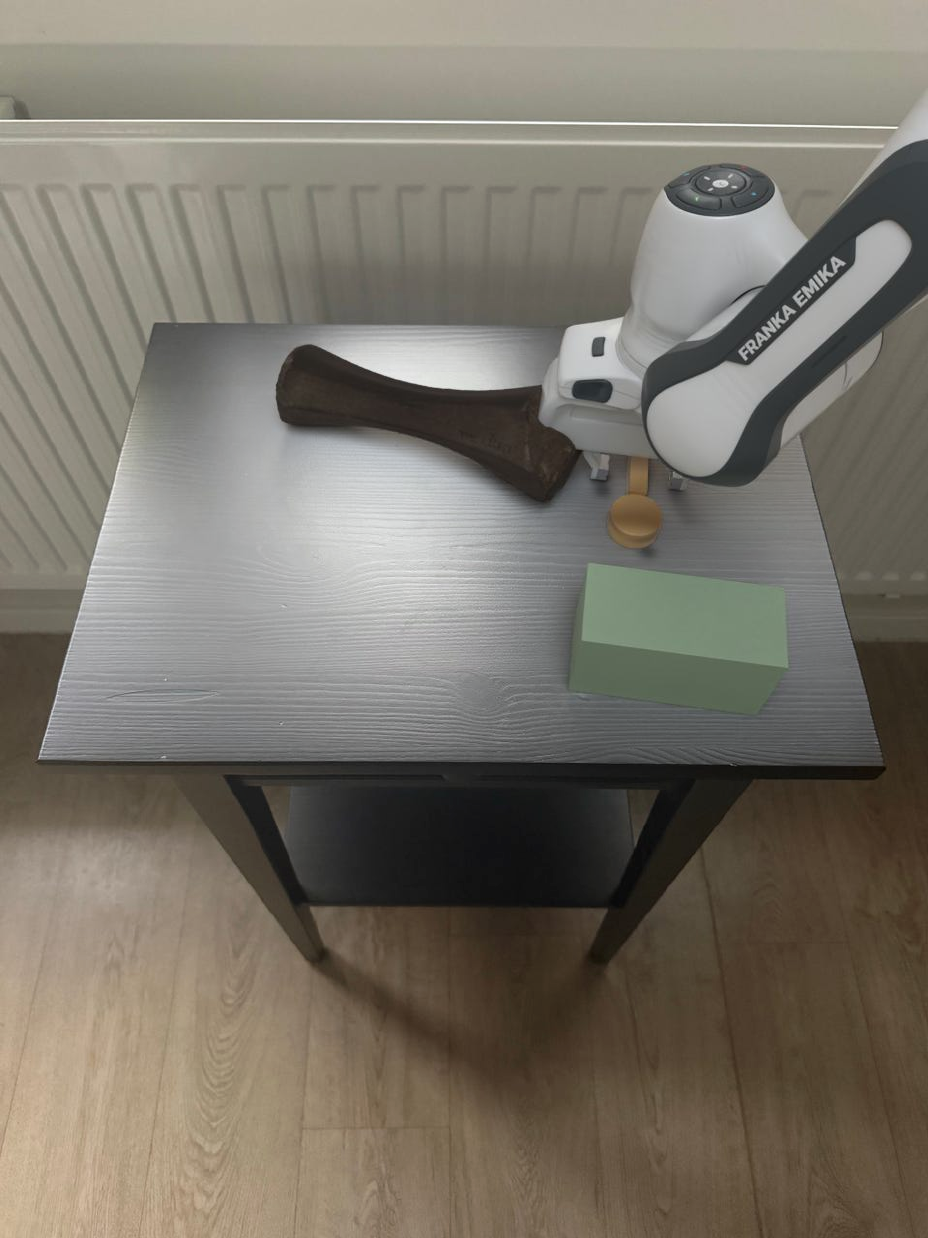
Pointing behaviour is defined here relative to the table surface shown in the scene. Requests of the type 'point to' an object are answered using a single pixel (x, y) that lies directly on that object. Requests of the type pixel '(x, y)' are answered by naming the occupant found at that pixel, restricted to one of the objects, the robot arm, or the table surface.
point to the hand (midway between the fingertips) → (637, 479)
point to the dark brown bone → (431, 417)
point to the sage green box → (678, 639)
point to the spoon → (635, 509)
